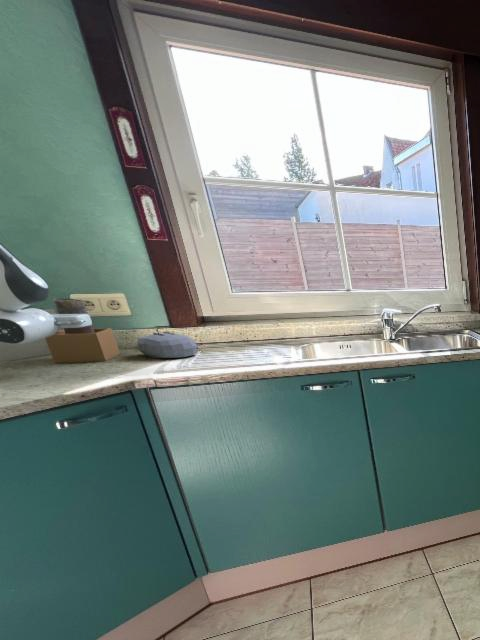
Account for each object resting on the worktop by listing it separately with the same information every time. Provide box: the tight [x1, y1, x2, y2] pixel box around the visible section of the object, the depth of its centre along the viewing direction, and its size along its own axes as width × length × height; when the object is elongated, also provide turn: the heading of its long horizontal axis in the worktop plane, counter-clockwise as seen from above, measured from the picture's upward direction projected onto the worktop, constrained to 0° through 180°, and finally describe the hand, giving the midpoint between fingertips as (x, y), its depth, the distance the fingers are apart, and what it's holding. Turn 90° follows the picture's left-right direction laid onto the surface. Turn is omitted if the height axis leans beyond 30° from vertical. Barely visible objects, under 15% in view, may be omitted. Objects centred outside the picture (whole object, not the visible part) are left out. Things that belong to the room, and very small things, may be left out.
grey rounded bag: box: [136, 331, 198, 359], centre depth 181 cm, size 15×8×20 cm
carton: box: [44, 327, 121, 364], centre depth 173 cm, size 13×13×10 cm
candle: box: [53, 297, 95, 334], centre depth 170 cm, size 8×7×20 cm
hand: (57, 318), depth 160 cm, fingers open, 8 cm apart
